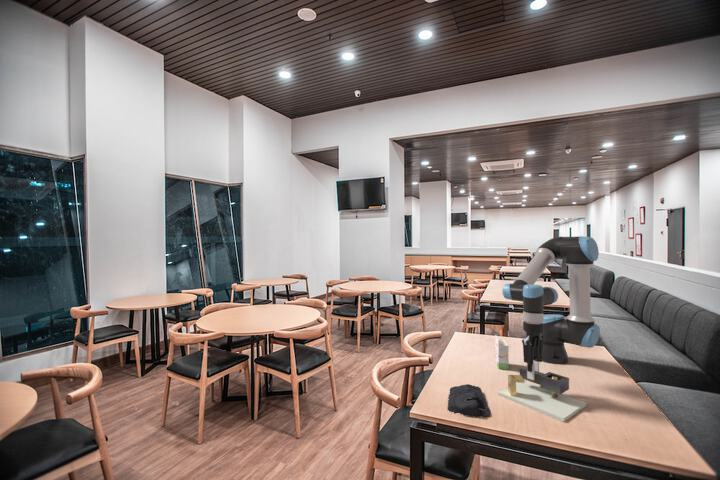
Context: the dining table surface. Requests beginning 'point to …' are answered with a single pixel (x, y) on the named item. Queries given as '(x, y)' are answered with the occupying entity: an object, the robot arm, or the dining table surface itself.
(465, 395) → the black flat irregular piece
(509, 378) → the block
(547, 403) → the board
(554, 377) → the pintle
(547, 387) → the link
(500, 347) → the ink box
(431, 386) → the dining table surface
